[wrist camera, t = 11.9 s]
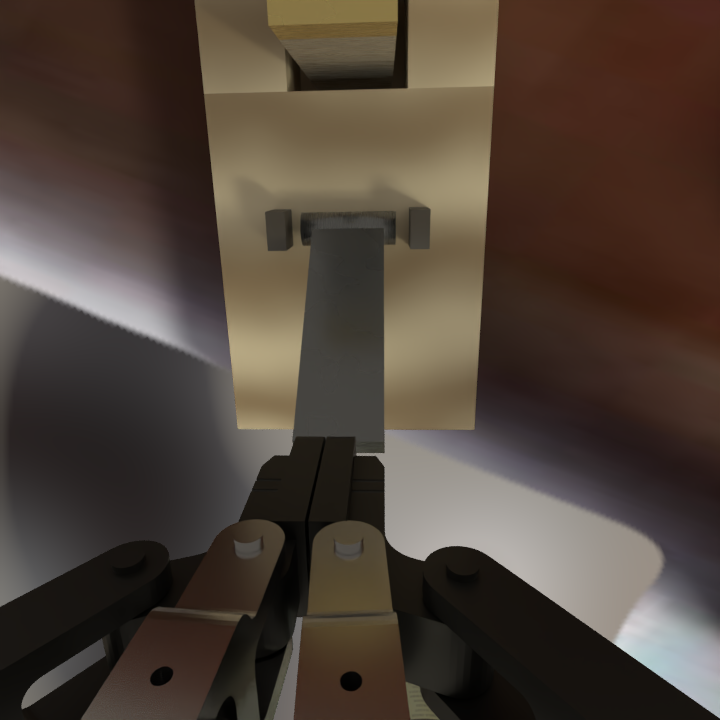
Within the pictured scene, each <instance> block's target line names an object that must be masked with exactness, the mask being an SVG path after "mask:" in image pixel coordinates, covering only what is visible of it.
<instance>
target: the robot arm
mask: <svg viewBox="0 0 720 720" xmlns="http://www.w3.org/2000/svg"><path fill="white" fill-rule="evenodd" d="M384 500H385V499H384V466H383V465H382V463H381V462H380V461H379V459H378V458H377V457H376V456H356V437H335V436H327V438H325V437H319V436H296V438H295V441H294V444H293V447H292V450H291V453H290V455H289V456H273V457H272V458H271V459H270V460H269V461H267V462H266V463H265V464H264V465H263V466H262V467H261V469H260V472H259V474H258V477H257V481H255V484H254V486H253V488H252V492H251V493H250V496H249V498H248V500H247V503H246V505H245V508H244V510H243V512H242V515H241V517H240V519H239V522H238V523H235V524H233V525H230V526H228V527H227V528H225V529H224V530H222V531H221V532H220V533H219V534H218V535H217V536H216V538H215V539H214V541H213V543H212V545H211V546H210V548H209V550H208V551H207V552H205V553H202V554H199V555H195V556H190V557H185V558H181V559H176V560H171V561H170V559H169V552H168V550H167V548H165V546H163V545H162V544H160V543H157V542H154V541H145V540H144V541H134V542H129V543H126V544H122V545H119V546H117V547H115V548H113V549H111V550H109V551H107V552H105V553H103V554H101V555H99V556H97V557H95V558H93V559H91V560H90V561H88V562H86V563H84V564H82V565H80V566H78V567H76V568H74V569H72V570H71V571H68V572H66V573H65V574H63V575H61V576H59V577H57V578H55V579H53V580H51V581H49V582H47V583H45V584H43V585H41V586H40V587H38V588H36V589H34V590H32V591H30V592H28V593H26V594H24V595H23V596H20V597H18V598H17V599H14V600H13V601H11V602H9V603H7V604H5V605H3V606H1V607H0V720H273V719H274V715H275V712H276V708H277V705H278V701H279V697H280V694H281V690H282V686H283V683H284V680H285V676H286V673H287V669H288V665H289V662H290V658H291V655H292V650H293V642H292V635H293V632H294V628H295V623H296V618H297V617H303V621H302V630H301V641H300V653H299V664H298V675H297V687H296V699H295V709H294V720H410V712H409V705H408V697H407V689H406V682H408V683H411V684H414V685H417V686H419V687H420V692H421V695H422V698H423V700H424V701H425V703H426V704H427V706H428V707H429V708H430V709H431V711H432V712H433V713H434V714H435V715H436V716H437V717H438V718H439V719H440V720H720V718H718V717H717V716H715V715H714V714H712V713H711V712H710V711H708V710H707V709H705V708H704V707H703V706H701V705H700V704H698V703H697V702H695V701H694V700H693V699H691V698H690V697H688V696H687V695H685V694H684V693H683V692H681V691H680V690H678V689H677V688H676V687H674V686H673V685H671V684H670V683H668V682H667V681H666V680H664V679H663V678H661V677H660V676H658V675H657V674H656V673H654V672H653V671H651V670H650V669H648V668H647V667H646V666H644V665H643V664H641V663H640V662H639V661H637V660H636V659H634V658H633V657H631V656H630V655H629V654H627V653H626V652H624V651H623V650H621V649H620V648H619V647H617V646H616V645H614V644H613V643H612V642H610V641H609V640H607V639H606V638H604V637H603V636H602V635H600V634H599V633H597V632H596V631H594V630H593V629H592V628H590V627H589V626H587V625H586V624H585V623H583V622H582V621H580V620H579V619H577V618H576V617H575V616H573V615H572V614H570V613H569V612H567V611H566V610H565V609H563V608H562V607H560V606H559V605H558V604H556V603H555V602H553V601H552V600H550V599H549V598H548V597H546V596H545V595H543V594H542V593H540V592H539V591H538V590H536V589H535V588H533V587H532V586H530V585H529V584H527V583H526V582H525V581H523V580H522V579H521V578H519V577H518V576H516V575H515V574H513V573H512V572H510V571H509V570H508V569H506V568H505V567H503V566H502V565H501V564H499V563H498V562H496V561H495V560H493V559H492V558H491V557H489V556H487V555H486V554H484V553H483V552H480V551H478V550H475V549H472V548H468V547H462V546H451V547H445V548H441V549H439V550H436V551H434V552H433V553H431V554H430V555H429V556H428V557H427V559H426V560H425V561H421V560H417V559H414V558H410V557H407V556H405V555H403V554H401V553H400V552H398V551H396V550H395V549H394V548H393V547H392V546H391V545H390V544H389V543H388V541H387V539H386V537H385V528H384V527H385V522H384V520H385V519H384V517H385V515H384V514H385V513H384V512H385V511H384V510H385V506H384ZM101 638H102V640H103V645H104V649H105V653H106V656H105V657H103V658H102V659H100V660H99V661H98V662H96V663H94V664H93V665H91V666H90V667H88V668H87V669H85V670H84V671H82V672H81V673H79V674H78V675H76V676H75V677H73V678H72V679H70V680H69V681H67V682H66V683H64V684H63V685H61V686H60V687H58V688H57V689H55V690H54V691H52V692H51V693H49V694H48V695H46V696H44V697H43V698H41V699H40V700H38V701H37V702H35V703H34V704H32V705H31V706H29V707H27V708H24V709H22V708H21V703H22V700H23V697H24V695H25V693H26V692H27V690H28V689H29V688H30V686H31V685H32V684H33V683H34V682H35V681H36V680H38V679H39V678H40V677H42V676H43V675H45V674H46V673H48V672H49V671H51V670H52V669H54V668H56V667H57V666H59V665H60V664H62V663H64V662H65V661H67V660H68V659H70V658H71V657H73V656H75V655H76V654H78V653H79V652H81V651H82V650H84V649H85V648H87V647H89V646H90V645H92V644H93V643H95V642H97V641H98V640H100V639H101Z"/></svg>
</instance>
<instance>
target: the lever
mask: <svg viewBox="0 0 720 720" xmlns="http://www.w3.org/2000/svg"><path fill="white" fill-rule="evenodd" d="M300 232H301V241H302V245H303V246H311V247H310V258H309V269H308V279H307V290H306V301H305V312H304V322H303V333H302V344H301V354H300V365H299V376H298V387H297V397H296V408H295V419H294V429H293V444H294V441H295V438H296V436H319V437H325V438H327V436H335V437H356V453H384V245H396V211H366V212H303V213H301V219H300Z"/></svg>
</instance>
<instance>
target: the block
mask: <svg viewBox="0 0 720 720" xmlns="http://www.w3.org/2000/svg"><path fill="white" fill-rule="evenodd" d="M498 7H499V0H398V23H397V35H396V46H395V58H394V70H393V81H392V88H388V89H353V90H317V89H316V88H315V86H314V85H313V84H312V82H311V81H310V80H309V79H308V77H307V76H306V75H305V73H304V72H303V71H302V69H301V68H300V67H299V65H298V64H297V63H296V61H295V60H294V59H293V57H292V56H291V55H290V53H289V52H288V51H287V50H286V48H285V47H284V46H283V44H282V43H281V42H280V40H279V39H278V38H277V36H276V35H275V34H274V32H273V31H272V30H271V28H270V27H269V26H268V12H267V0H195V10H196V20H197V30H198V40H199V49H200V59H201V69H202V79H203V89H204V99H205V109H206V118H207V128H208V138H209V148H210V158H211V168H212V178H213V187H214V197H215V207H216V217H217V227H218V237H219V247H220V256H221V266H222V276H223V286H224V296H225V306H226V316H227V325H228V335H229V345H230V355H231V365H232V375H233V384H234V394H235V404H236V414H237V424H238V429H294V419H295V408H296V397H297V387H298V376H299V365H300V354H301V344H302V333H303V322H304V312H305V301H306V290H307V279H308V269H309V258H310V247H311V246H303V245H302V241H301V232H300V219H301V213H303V212H366V211H396V245H384V429H394V430H474V426H475V409H476V391H477V374H478V356H479V339H480V321H481V304H482V286H483V269H484V252H485V234H486V217H487V199H488V182H489V164H490V147H491V129H492V112H493V95H494V77H495V60H496V42H497V25H498Z"/></svg>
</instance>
